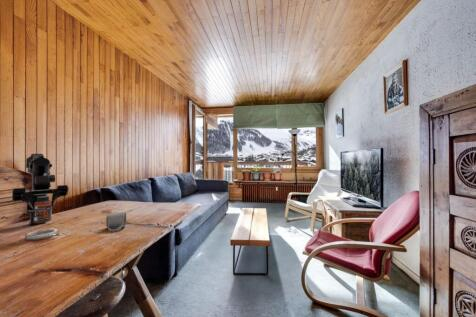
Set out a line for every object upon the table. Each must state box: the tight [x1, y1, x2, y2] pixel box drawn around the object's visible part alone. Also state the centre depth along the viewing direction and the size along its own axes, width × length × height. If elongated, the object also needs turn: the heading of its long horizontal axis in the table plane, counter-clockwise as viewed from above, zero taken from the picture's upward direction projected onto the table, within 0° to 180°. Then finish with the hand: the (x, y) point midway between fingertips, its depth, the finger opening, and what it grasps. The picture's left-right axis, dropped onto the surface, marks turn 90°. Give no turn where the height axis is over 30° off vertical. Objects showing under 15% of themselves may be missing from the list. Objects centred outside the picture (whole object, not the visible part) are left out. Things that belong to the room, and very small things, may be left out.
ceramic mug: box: [105, 211, 127, 233], centre depth 105 cm, size 11×8×8 cm
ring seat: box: [24, 228, 60, 241], centre depth 95 cm, size 11×11×2 cm
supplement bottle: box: [33, 195, 53, 224], centre depth 95 cm, size 6×6×11 cm
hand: (43, 207), depth 94 cm, fingers closed on supplement bottle, 6 cm apart
